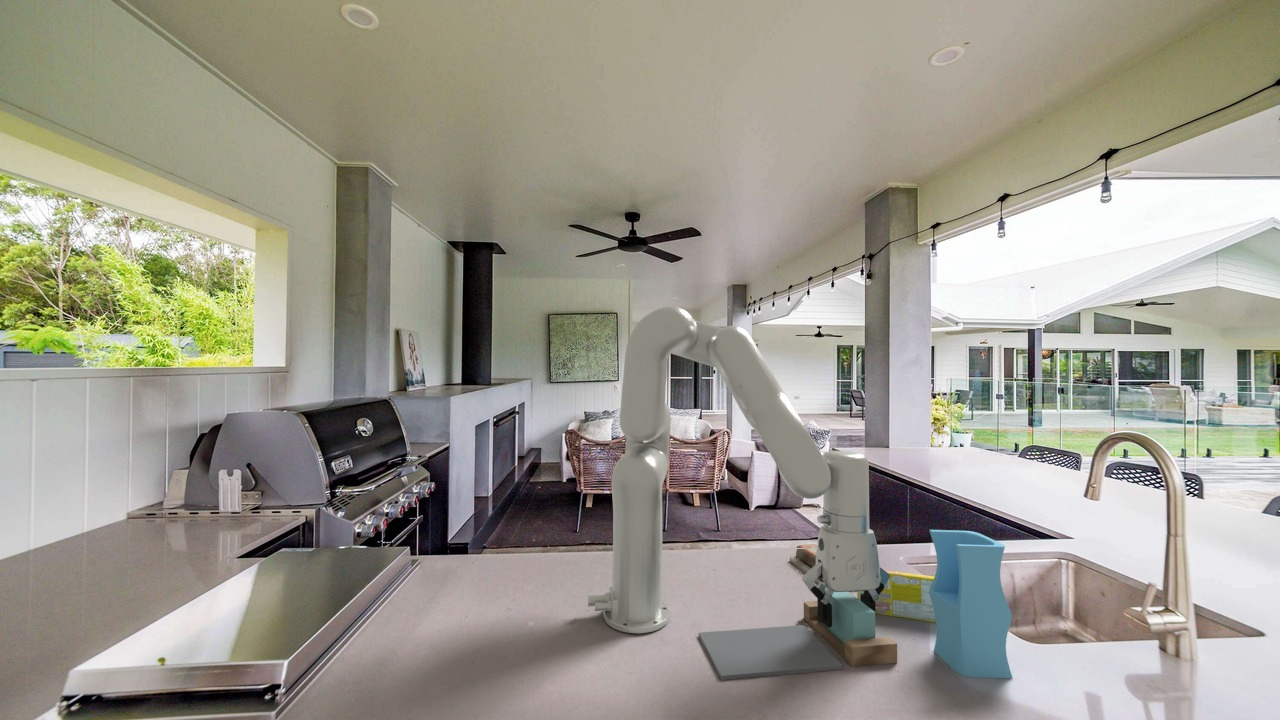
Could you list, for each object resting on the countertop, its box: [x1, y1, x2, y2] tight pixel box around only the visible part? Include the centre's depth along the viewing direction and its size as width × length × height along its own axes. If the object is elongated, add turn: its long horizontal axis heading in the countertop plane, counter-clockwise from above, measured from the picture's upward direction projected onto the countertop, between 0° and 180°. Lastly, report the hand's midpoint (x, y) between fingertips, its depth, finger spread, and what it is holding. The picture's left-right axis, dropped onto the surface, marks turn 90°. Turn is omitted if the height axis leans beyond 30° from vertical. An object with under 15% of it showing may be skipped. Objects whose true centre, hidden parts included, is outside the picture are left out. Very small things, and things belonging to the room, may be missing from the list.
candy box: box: [856, 569, 937, 624], centre depth 89 cm, size 16×2×8 cm, turn 71°
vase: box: [929, 529, 1013, 680], centre depth 75 cm, size 8×8×20 cm
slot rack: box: [803, 600, 898, 668], centre depth 81 cm, size 8×15×3 cm, turn 9°
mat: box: [698, 624, 843, 681], centre depth 76 cm, size 20×12×1 cm, turn 99°
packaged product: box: [789, 543, 820, 584], centre depth 108 cm, size 18×5×10 cm
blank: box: [821, 587, 876, 645], centre depth 81 cm, size 4×10×7 cm, turn 9°
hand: (846, 621), depth 81 cm, fingers open, 7 cm apart
